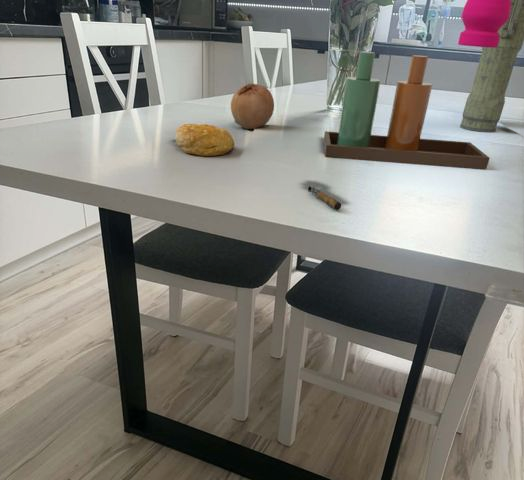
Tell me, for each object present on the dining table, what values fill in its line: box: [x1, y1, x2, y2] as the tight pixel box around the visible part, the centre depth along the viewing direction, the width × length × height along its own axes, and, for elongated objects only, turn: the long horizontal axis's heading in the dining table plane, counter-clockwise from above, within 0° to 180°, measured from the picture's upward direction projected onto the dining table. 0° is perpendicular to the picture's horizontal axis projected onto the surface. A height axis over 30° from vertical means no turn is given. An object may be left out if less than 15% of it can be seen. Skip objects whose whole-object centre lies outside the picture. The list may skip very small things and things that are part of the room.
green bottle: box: [337, 51, 381, 147], centre depth 87 cm, size 6×6×16 cm
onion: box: [230, 82, 275, 130], centre depth 104 cm, size 10×9×10 cm
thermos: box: [459, 0, 524, 133], centre depth 113 cm, size 9×12×35 cm
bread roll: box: [174, 123, 235, 157], centre depth 86 cm, size 10×11×5 cm
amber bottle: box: [385, 54, 433, 151], centre depth 86 cm, size 6×6×16 cm
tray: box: [323, 130, 491, 171], centre depth 90 cm, size 29×13×3 cm, turn 85°
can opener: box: [307, 185, 342, 211], centre depth 67 cm, size 9×2×1 cm, turn 16°
